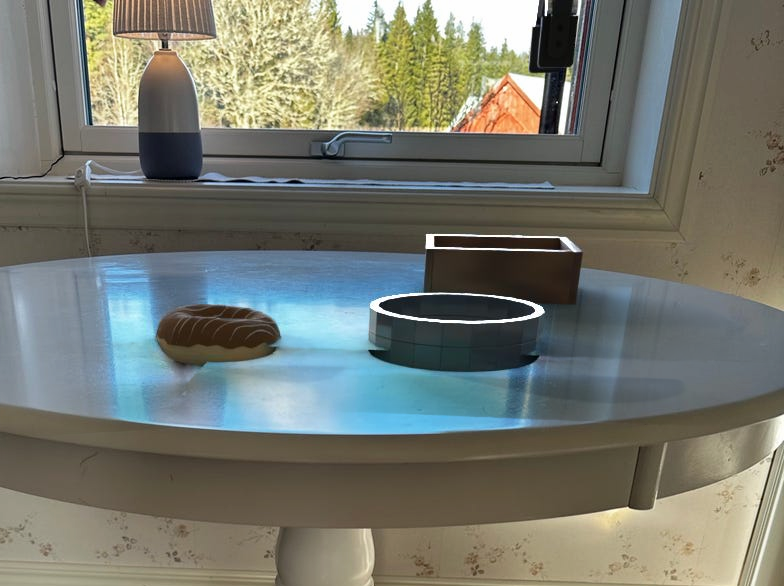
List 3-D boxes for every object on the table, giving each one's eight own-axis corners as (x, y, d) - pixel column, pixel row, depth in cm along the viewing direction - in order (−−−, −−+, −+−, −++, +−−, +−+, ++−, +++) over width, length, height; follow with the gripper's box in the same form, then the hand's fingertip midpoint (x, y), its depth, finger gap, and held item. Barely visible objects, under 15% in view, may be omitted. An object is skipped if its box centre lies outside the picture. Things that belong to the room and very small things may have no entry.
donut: (152, 347, 86) (149, 301, 84) (268, 343, 88) (267, 298, 86) (162, 375, 77) (159, 323, 75) (291, 370, 79) (291, 319, 77)
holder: (558, 300, 110) (566, 237, 107) (573, 322, 98) (583, 251, 95) (422, 296, 112) (426, 234, 109) (421, 317, 100) (426, 248, 97)
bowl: (529, 346, 88) (535, 295, 86) (545, 384, 75) (553, 325, 73) (372, 341, 89) (375, 290, 87) (363, 378, 77) (365, 319, 74)
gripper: (632, -185, 76) (602, 64, 85) (600, -133, 92) (577, 74, 100) (537, -181, 77) (516, 65, 85) (520, -130, 92) (504, 75, 100)
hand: (549, 70), depth 93 cm, fingers open, 9 cm apart
